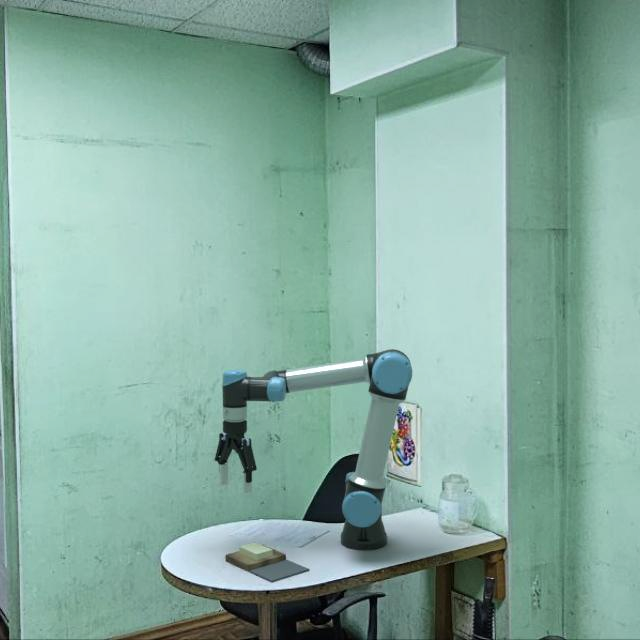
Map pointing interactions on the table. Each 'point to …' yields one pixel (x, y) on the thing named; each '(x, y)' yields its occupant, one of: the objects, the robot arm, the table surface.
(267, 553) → the tile
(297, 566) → the mat
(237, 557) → the wooden board
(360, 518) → the robot arm
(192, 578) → the table surface
